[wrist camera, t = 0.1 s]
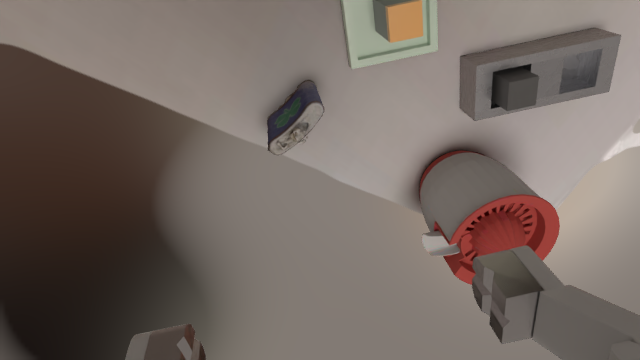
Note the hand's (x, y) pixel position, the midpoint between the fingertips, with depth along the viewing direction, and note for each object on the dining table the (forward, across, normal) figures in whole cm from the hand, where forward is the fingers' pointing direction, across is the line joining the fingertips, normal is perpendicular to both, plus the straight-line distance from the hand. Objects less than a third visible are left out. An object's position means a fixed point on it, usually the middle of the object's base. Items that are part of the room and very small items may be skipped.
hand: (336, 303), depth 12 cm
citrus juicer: (+48, -23, +31) cm, 62 cm away
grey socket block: (+48, -35, +14) cm, 61 cm away
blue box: (+48, 0, +12) cm, 50 cm away
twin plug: (+47, -30, +14) cm, 57 cm away
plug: (+47, -15, +2) cm, 50 cm away
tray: (+48, -15, +2) cm, 50 cm away
